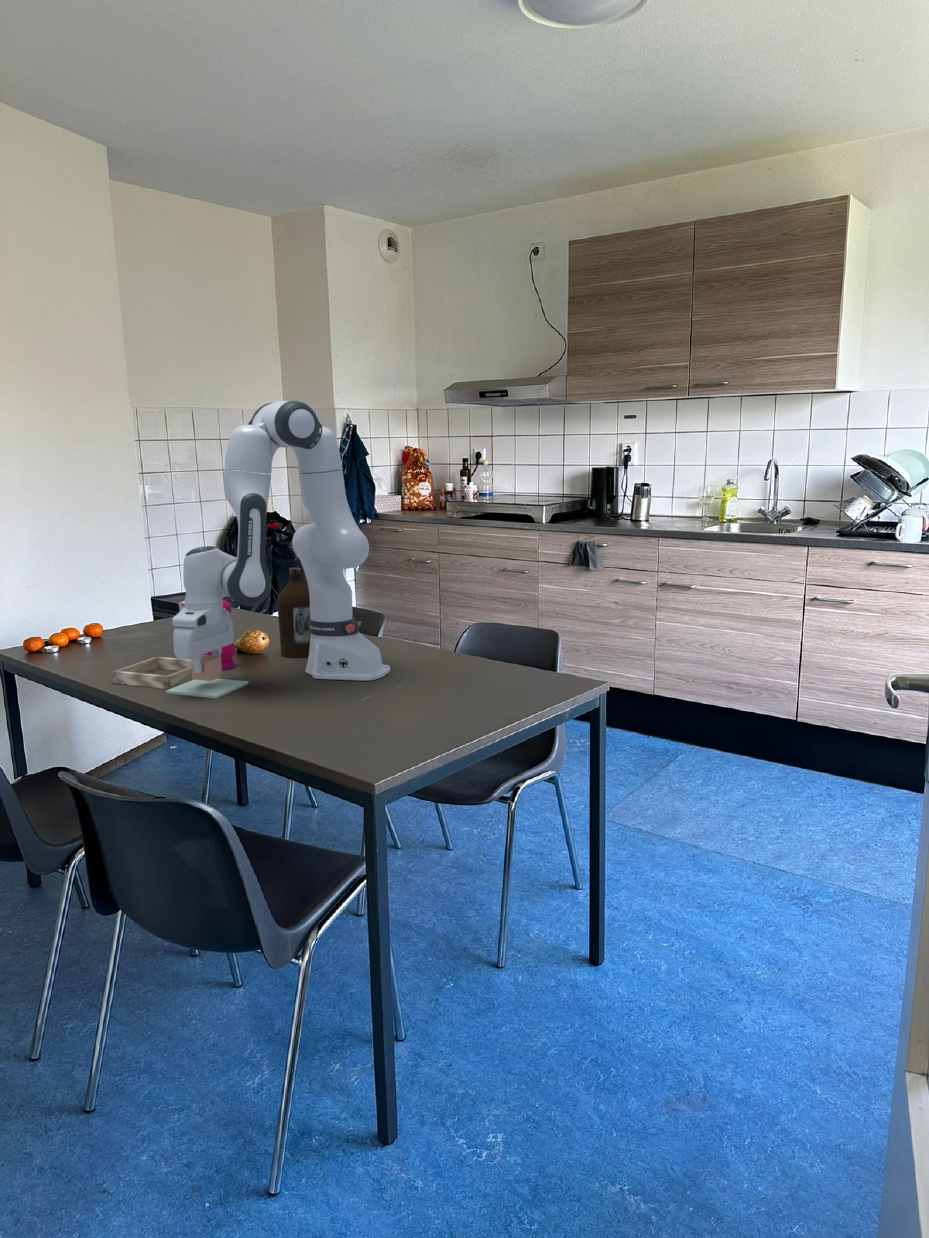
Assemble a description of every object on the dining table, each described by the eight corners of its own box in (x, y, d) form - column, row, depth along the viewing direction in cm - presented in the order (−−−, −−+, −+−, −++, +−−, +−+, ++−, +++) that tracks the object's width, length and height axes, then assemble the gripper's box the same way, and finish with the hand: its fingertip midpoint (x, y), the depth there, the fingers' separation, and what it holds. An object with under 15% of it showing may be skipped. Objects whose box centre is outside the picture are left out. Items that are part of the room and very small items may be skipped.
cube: (221, 676, 214) (221, 656, 213) (210, 681, 209) (209, 660, 208) (204, 674, 215) (203, 654, 215) (192, 679, 211) (191, 659, 210)
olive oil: (271, 653, 250) (268, 568, 245) (302, 648, 257) (300, 564, 252) (292, 660, 242) (289, 571, 238) (323, 654, 249) (321, 568, 245)
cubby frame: (209, 672, 228) (208, 661, 228) (168, 689, 212) (167, 677, 212) (156, 667, 233) (156, 656, 233) (112, 683, 217) (111, 671, 216)
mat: (248, 683, 217) (248, 681, 217) (216, 698, 204) (216, 696, 204) (200, 679, 222) (200, 676, 221) (166, 693, 208) (165, 690, 208)
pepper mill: (228, 670, 230) (225, 596, 226) (203, 669, 232) (199, 595, 228) (240, 664, 237) (237, 592, 233) (216, 663, 239) (212, 591, 235)
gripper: (217, 606, 220) (219, 659, 223) (167, 620, 201) (170, 678, 203) (239, 607, 218) (241, 660, 221) (190, 622, 199) (193, 680, 202)
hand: (207, 669), depth 212 cm, fingers closed on cube, 5 cm apart
